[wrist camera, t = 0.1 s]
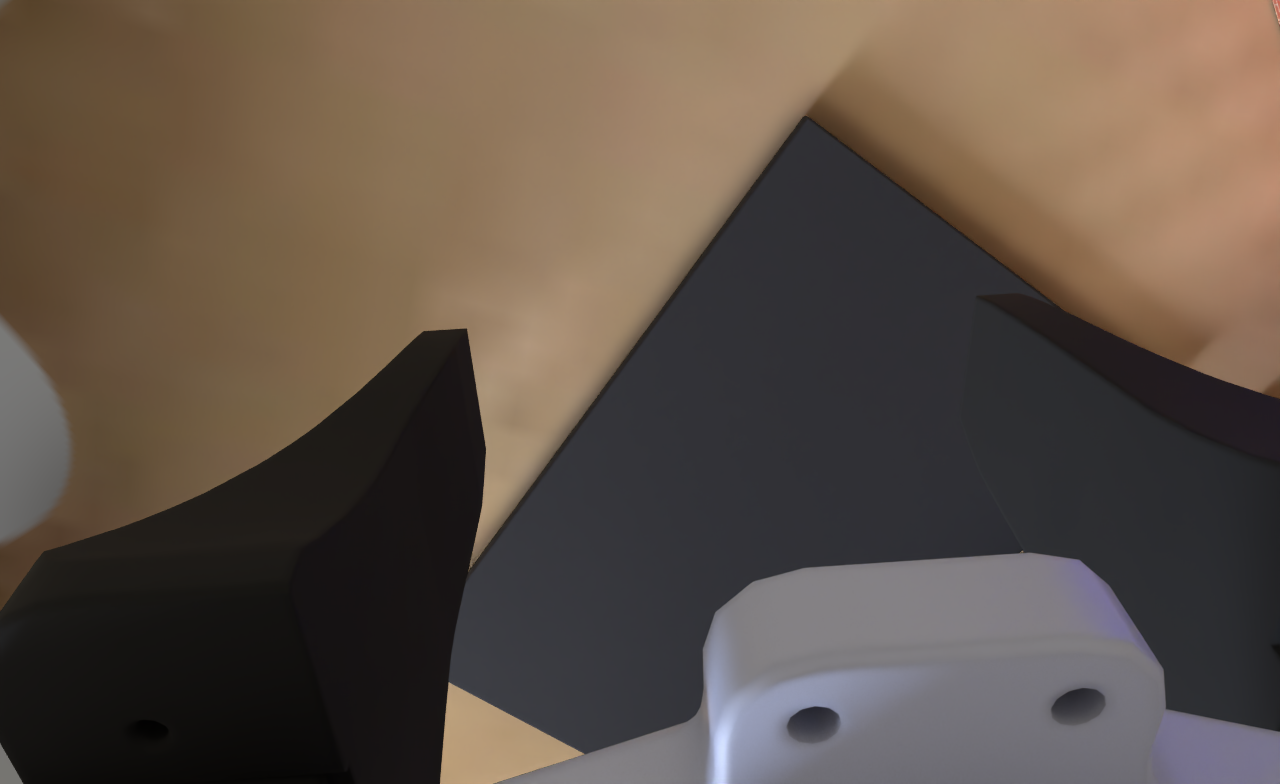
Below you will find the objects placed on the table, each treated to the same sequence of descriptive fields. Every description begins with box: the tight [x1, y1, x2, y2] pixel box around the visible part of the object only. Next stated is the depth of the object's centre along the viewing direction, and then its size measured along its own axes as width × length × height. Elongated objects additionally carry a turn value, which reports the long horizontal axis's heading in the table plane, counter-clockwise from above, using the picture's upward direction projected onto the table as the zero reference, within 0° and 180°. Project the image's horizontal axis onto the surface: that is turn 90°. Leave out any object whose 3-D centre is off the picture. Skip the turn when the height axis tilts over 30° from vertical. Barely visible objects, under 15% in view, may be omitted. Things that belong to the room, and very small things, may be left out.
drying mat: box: [449, 116, 1064, 754], centre depth 27 cm, size 18×12×1 cm, turn 145°
